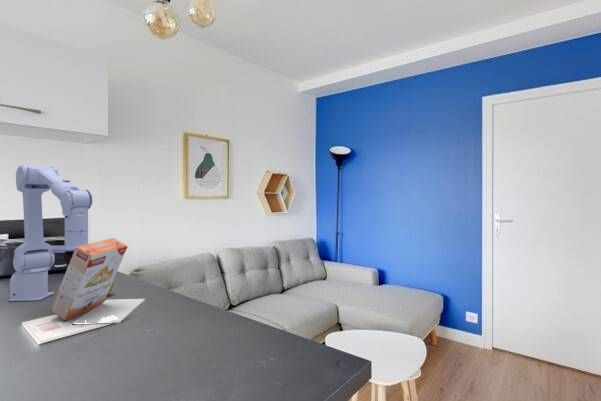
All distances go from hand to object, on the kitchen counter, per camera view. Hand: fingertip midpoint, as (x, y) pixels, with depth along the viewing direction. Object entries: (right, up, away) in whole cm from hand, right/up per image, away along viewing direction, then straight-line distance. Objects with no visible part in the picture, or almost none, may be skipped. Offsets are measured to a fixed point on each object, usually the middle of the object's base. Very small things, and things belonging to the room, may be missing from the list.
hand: (76, 277), depth 99 cm
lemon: (-1, -10, +16) cm, 19 cm away
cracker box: (+1, -9, 0) cm, 9 cm away
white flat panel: (+10, -11, +1) cm, 14 cm away
